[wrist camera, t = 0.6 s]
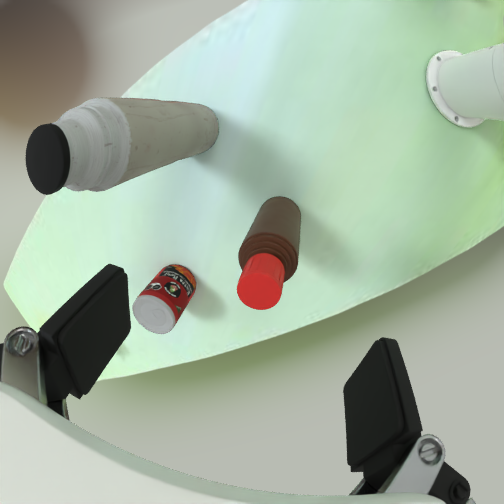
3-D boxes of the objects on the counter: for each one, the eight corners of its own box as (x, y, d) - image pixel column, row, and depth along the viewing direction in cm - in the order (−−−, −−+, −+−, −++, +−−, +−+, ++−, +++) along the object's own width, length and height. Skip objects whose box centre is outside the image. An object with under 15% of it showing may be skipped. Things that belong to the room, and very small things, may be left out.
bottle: (294, 191, 39) (284, 249, 22) (305, 230, 42) (303, 311, 24) (253, 202, 41) (213, 265, 24) (266, 240, 43) (239, 321, 26)
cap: (278, 248, 26) (273, 268, 22) (289, 283, 27) (286, 306, 24) (239, 257, 27) (230, 277, 24) (252, 290, 28) (245, 313, 25)
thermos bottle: (170, 105, 36) (12, 115, 12) (220, 103, 35) (75, 87, 10) (170, 154, 40) (22, 214, 15) (218, 154, 39) (84, 219, 14)
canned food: (205, 281, 49) (182, 319, 40) (183, 304, 53) (160, 341, 43) (172, 254, 48) (142, 288, 38) (154, 280, 52) (126, 313, 42)
